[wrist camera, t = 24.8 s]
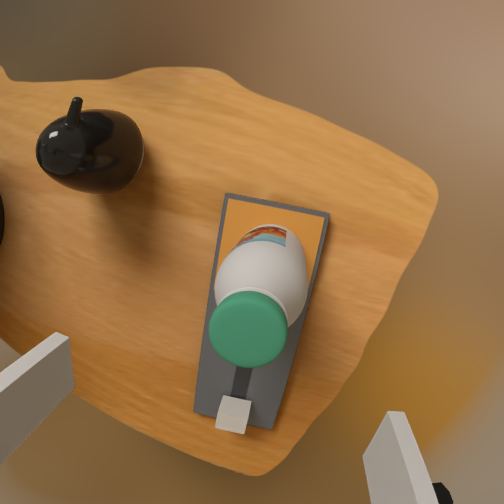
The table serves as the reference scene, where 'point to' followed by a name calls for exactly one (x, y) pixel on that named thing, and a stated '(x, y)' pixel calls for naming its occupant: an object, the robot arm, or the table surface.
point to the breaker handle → (233, 414)
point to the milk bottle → (258, 296)
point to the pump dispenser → (91, 149)
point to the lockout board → (276, 373)
